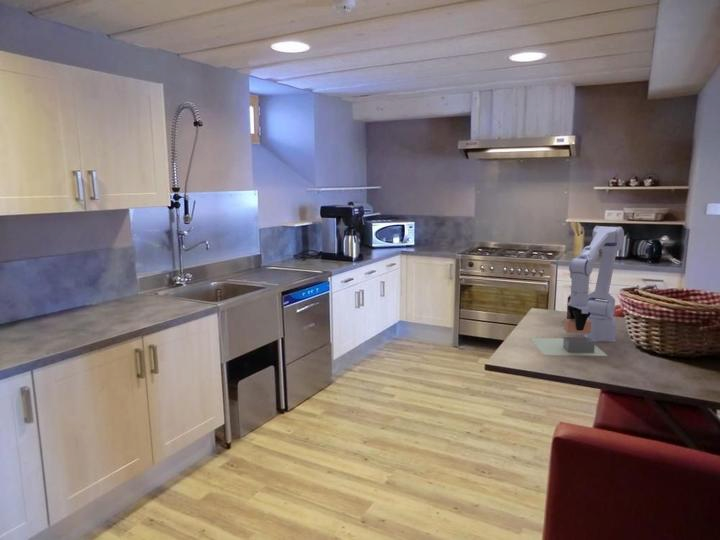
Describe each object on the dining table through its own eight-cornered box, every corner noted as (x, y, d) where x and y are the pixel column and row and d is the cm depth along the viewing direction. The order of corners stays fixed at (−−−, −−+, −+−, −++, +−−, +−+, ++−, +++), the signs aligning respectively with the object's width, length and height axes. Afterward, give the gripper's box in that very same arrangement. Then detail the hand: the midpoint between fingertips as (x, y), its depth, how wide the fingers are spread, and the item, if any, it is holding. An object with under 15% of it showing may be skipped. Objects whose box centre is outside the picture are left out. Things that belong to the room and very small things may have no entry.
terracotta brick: (586, 329, 186) (587, 319, 185) (590, 333, 181) (591, 322, 181) (563, 329, 187) (564, 318, 186) (567, 332, 182) (568, 321, 182)
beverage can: (578, 325, 217) (580, 298, 215) (563, 322, 222) (565, 296, 220) (585, 322, 221) (587, 295, 220) (571, 319, 226) (572, 293, 224)
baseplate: (587, 339, 198) (587, 338, 197) (607, 356, 178) (607, 355, 178) (529, 339, 200) (529, 338, 200) (543, 355, 180) (543, 354, 180)
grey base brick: (588, 347, 187) (588, 337, 186) (594, 352, 181) (594, 342, 180) (563, 347, 188) (563, 336, 187) (568, 352, 182) (568, 341, 181)
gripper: (562, 287, 189) (560, 322, 191) (574, 295, 175) (572, 333, 177) (581, 287, 188) (579, 322, 191) (595, 295, 174) (593, 334, 176)
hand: (577, 328), depth 184 cm, fingers closed on terracotta brick, 4 cm apart
